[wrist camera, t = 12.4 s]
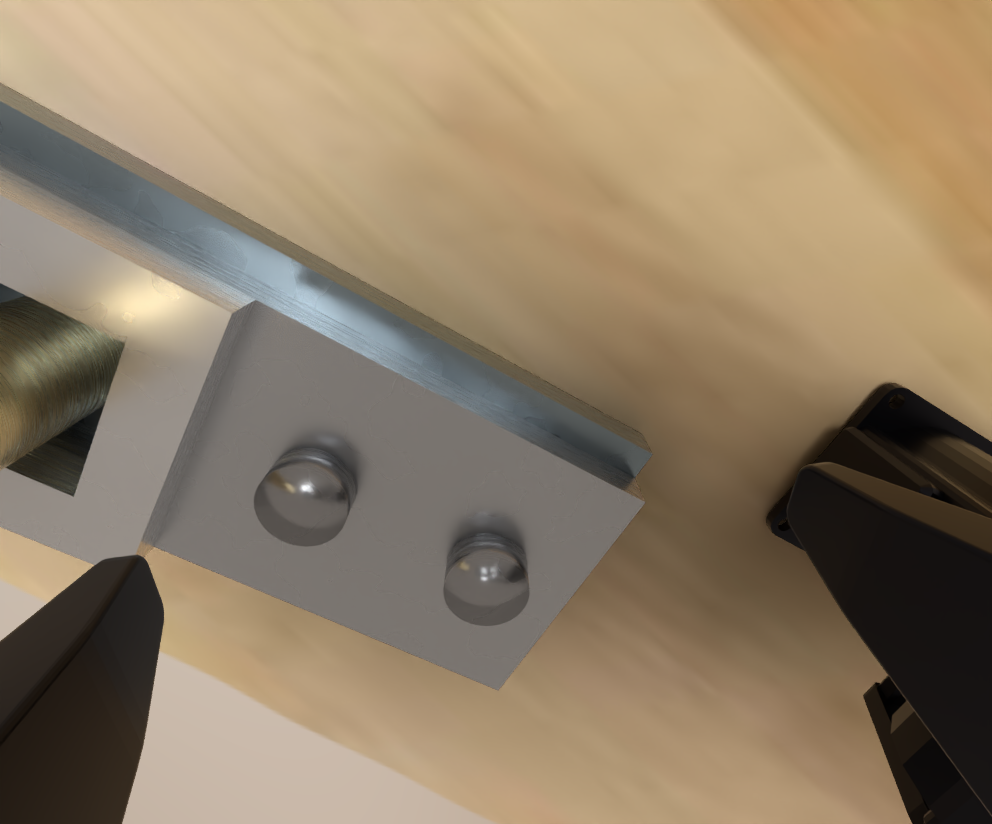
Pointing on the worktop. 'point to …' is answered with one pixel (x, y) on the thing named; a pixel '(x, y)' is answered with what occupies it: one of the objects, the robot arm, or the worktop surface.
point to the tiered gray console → (295, 419)
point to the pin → (48, 374)
